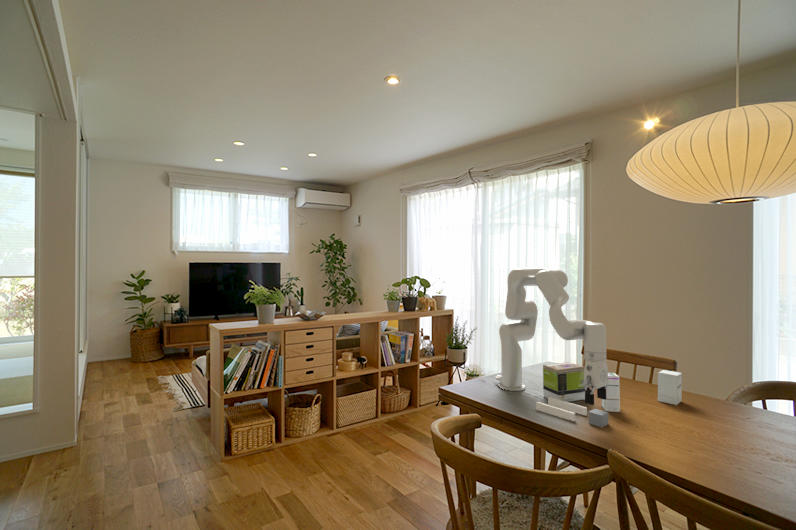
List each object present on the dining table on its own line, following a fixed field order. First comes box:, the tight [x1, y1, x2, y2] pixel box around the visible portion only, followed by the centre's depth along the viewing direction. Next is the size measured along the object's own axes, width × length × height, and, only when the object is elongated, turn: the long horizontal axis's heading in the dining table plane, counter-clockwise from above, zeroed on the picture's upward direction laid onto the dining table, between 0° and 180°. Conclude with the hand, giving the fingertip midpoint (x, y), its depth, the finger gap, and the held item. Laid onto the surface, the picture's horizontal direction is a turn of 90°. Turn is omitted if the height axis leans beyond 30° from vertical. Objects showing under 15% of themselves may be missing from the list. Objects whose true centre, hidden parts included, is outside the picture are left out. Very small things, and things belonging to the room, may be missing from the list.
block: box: [588, 408, 609, 428], centre depth 150 cm, size 5×5×4 cm
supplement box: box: [657, 369, 683, 406], centre depth 175 cm, size 7×7×13 cm
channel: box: [535, 397, 588, 422], centre depth 162 cm, size 16×10×3 cm, turn 39°
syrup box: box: [600, 371, 621, 413], centre depth 165 cm, size 6×6×14 cm
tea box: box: [542, 361, 585, 403], centre depth 179 cm, size 15×10×15 cm, turn 108°
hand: (595, 401), depth 151 cm, fingers open, 9 cm apart
